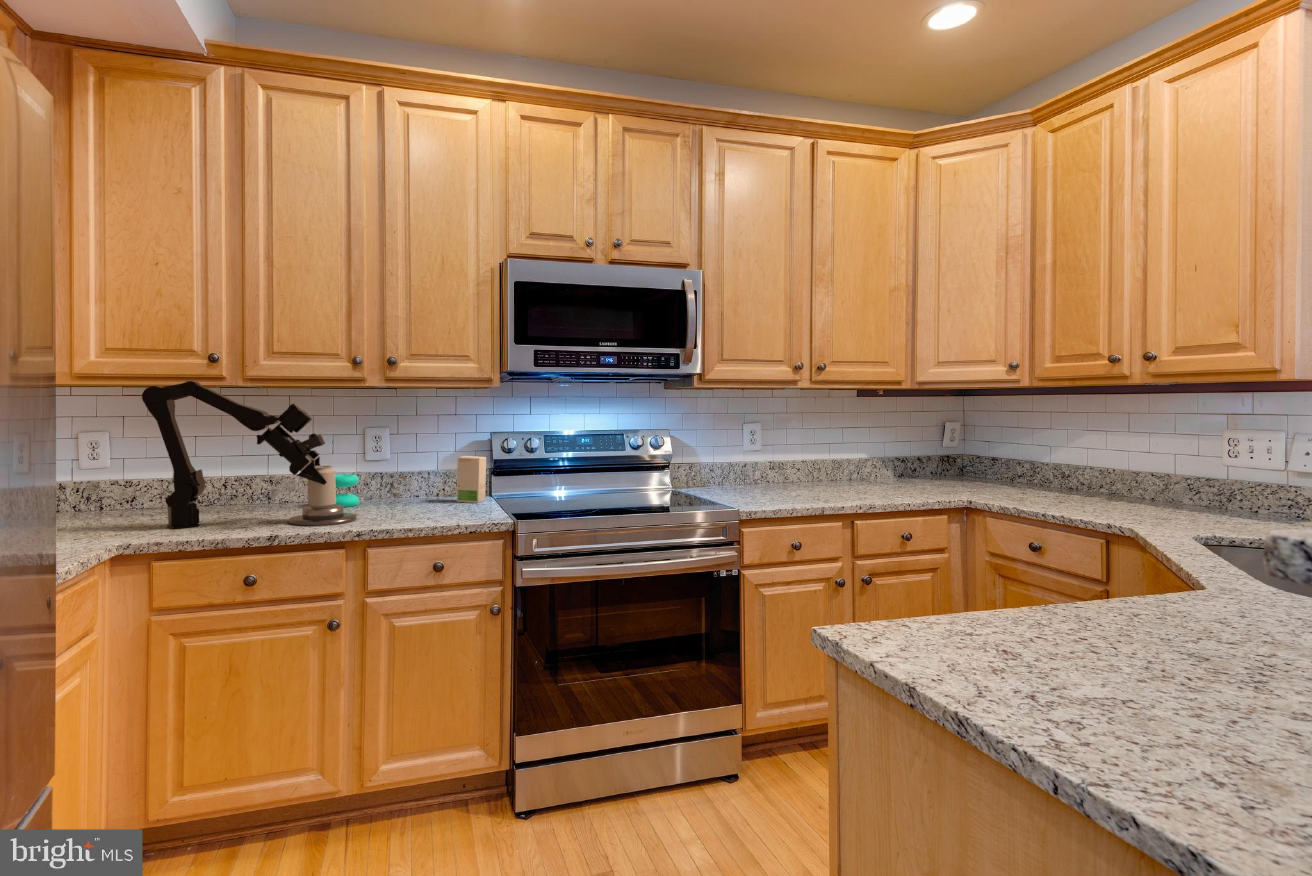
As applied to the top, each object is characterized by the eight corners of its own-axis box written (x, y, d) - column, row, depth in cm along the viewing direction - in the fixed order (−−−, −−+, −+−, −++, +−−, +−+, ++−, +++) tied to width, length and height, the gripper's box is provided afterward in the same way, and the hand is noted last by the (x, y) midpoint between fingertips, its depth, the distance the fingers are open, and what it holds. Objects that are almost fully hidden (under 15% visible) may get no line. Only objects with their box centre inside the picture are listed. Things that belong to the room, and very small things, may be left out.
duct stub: (304, 528, 205) (304, 514, 205) (278, 520, 217) (278, 507, 217) (367, 520, 218) (367, 507, 218) (339, 513, 230) (339, 500, 230)
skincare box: (456, 502, 255) (455, 457, 254) (464, 499, 261) (463, 455, 260) (479, 503, 254) (479, 457, 253) (486, 500, 260) (486, 456, 259)
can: (314, 509, 212) (313, 467, 211) (303, 507, 217) (302, 466, 217) (340, 506, 218) (339, 465, 217) (329, 504, 223) (328, 464, 222)
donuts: (365, 474, 250) (346, 477, 240) (365, 504, 250) (346, 508, 240) (338, 473, 252) (319, 476, 242) (339, 502, 252) (319, 507, 243)
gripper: (301, 426, 206) (345, 465, 210) (311, 423, 224) (350, 459, 228) (270, 454, 204) (315, 493, 208) (282, 449, 222) (323, 485, 226)
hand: (327, 481), depth 217 cm, fingers open, 8 cm apart
